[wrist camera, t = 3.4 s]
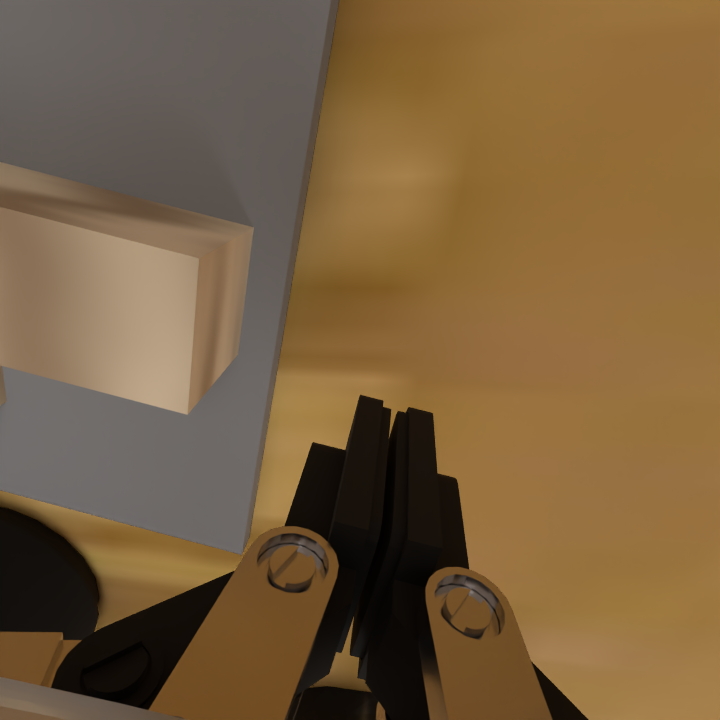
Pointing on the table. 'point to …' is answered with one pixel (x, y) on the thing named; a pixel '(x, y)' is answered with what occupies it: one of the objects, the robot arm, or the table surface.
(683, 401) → the table surface
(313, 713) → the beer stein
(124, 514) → the mat
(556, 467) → the table surface
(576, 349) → the table surface
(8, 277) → the t block
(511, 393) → the table surface
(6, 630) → the coffee jar
